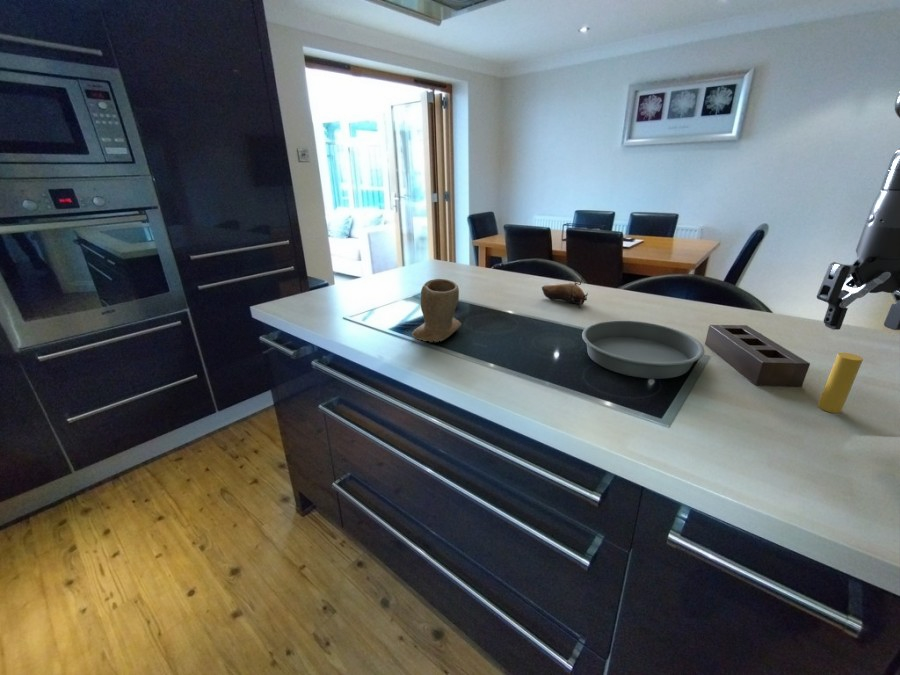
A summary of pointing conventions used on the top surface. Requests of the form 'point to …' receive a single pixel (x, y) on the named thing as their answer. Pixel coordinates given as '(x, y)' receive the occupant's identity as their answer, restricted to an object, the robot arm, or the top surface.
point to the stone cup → (438, 310)
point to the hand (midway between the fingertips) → (861, 328)
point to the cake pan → (641, 349)
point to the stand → (756, 356)
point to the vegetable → (565, 292)
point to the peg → (840, 382)
